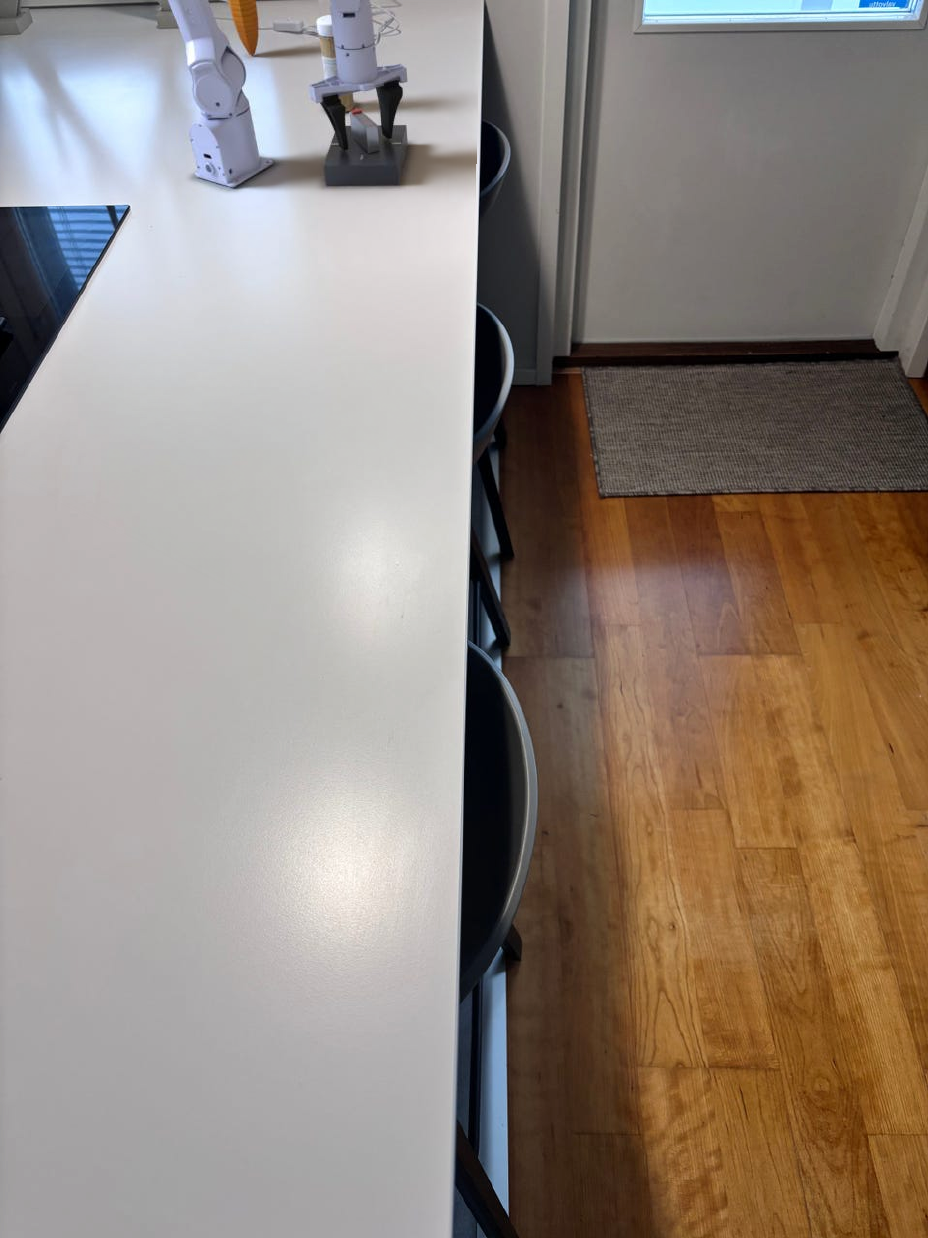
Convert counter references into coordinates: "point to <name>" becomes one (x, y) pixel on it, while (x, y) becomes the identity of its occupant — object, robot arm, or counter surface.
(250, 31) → the carrot
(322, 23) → the sprinkles bottle
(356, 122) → the tap handle
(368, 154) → the base
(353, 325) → the counter surface
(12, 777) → the counter surface
